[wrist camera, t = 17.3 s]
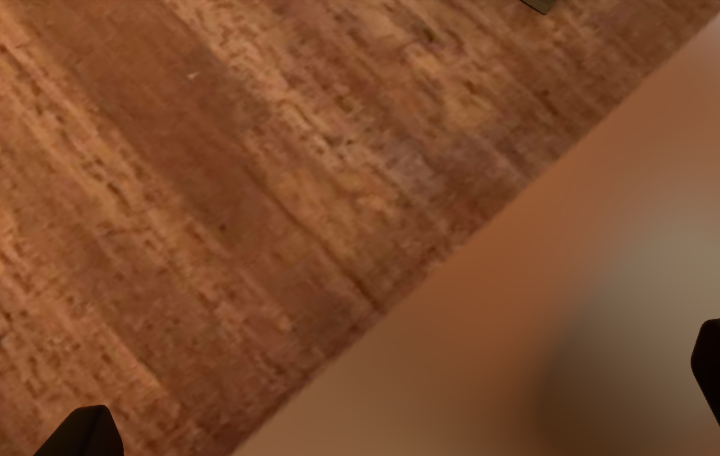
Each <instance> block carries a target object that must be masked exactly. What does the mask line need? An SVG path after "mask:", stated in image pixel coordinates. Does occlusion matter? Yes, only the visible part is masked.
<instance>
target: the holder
mask: <svg viewBox="0 0 720 456" xmlns="http://www.w3.org/2000/svg"><path fill="white" fill-rule="evenodd" d="M522 1H524V2H526V3H527V4H529V5H530V6H532V7H533V8H535V9H537V10H538V11H540V12H541V13H543V14H546V13H547V11H548V10H549V8H550V7H551V6H552V4H553V3H554V1H555V0H522Z"/></svg>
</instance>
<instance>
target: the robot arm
mask: <svg viewBox="0 0 720 456" xmlns="http://www.w3.org/2000/svg"><path fill="white" fill-rule="evenodd" d="M691 368H692V372H693V374H694V376H695V378H696V380H697V382H698V384H699V386H700V388H701V390H702V392H703V394H704V396H705V398H706V400H707V402H708V404H709V406H710V408H711V410H712V412H713V414H714V416H715V418H716V420H717V422H718V424H719V426H720V318H719V319H712V320H707V321H705V322H704V323H703V324H702V326H701V328H700V331H699V334H698V337H697V340H696V344H695V347H694V349H693V352H692V356H691ZM33 456H124V449H123V443H122V439H121V437H120V434H119V432H118V430H117V427H116V425H115V423H114V420H113V418H112V415H111V413H110V411H109V409H108V408H107V407H106V406H105V405H95V406H88V407H81V408H77V409H75V410H74V411H73V412H71V413H70V414H69V416H68V417H67V418H66V419H65V420H64V421H63V422H62V424H61V425H60V426H59V427H58V428H57V429H56V430H55V431H54V433H53V434H52V435H51V436H50V437H49V438H48V439H47V440H46V442H45V443H44V444H43V445H42V446H41V447H40V448H39V450H38V451H37V452H36V453H35V454H34V455H33Z"/></svg>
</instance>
